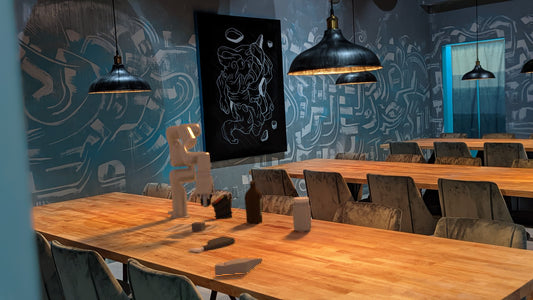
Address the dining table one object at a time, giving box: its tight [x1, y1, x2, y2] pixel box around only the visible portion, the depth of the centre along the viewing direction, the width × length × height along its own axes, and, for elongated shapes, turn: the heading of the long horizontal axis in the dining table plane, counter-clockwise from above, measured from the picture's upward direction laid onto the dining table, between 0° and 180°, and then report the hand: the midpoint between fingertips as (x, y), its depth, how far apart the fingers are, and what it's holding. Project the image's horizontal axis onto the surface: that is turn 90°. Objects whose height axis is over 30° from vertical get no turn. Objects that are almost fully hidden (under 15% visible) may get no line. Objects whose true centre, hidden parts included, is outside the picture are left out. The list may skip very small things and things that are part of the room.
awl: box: [202, 194, 210, 208], centre depth 318 cm, size 3×3×8 cm
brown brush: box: [188, 236, 236, 254], centre depth 274 cm, size 3×11×24 cm
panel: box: [162, 223, 221, 236], centre depth 316 cm, size 28×20×1 cm
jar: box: [292, 196, 312, 232], centre depth 302 cm, size 10×10×18 cm
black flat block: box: [210, 194, 233, 220], centre depth 347 cm, size 4×13×15 cm, turn 129°
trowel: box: [214, 257, 263, 275], centre depth 233 cm, size 28×16×5 cm, turn 139°
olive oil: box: [244, 180, 263, 225], centre depth 330 cm, size 11×11×25 cm
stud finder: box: [191, 221, 206, 231], centre depth 310 cm, size 6×5×5 cm
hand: (205, 205), depth 318 cm, fingers closed on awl, 3 cm apart
